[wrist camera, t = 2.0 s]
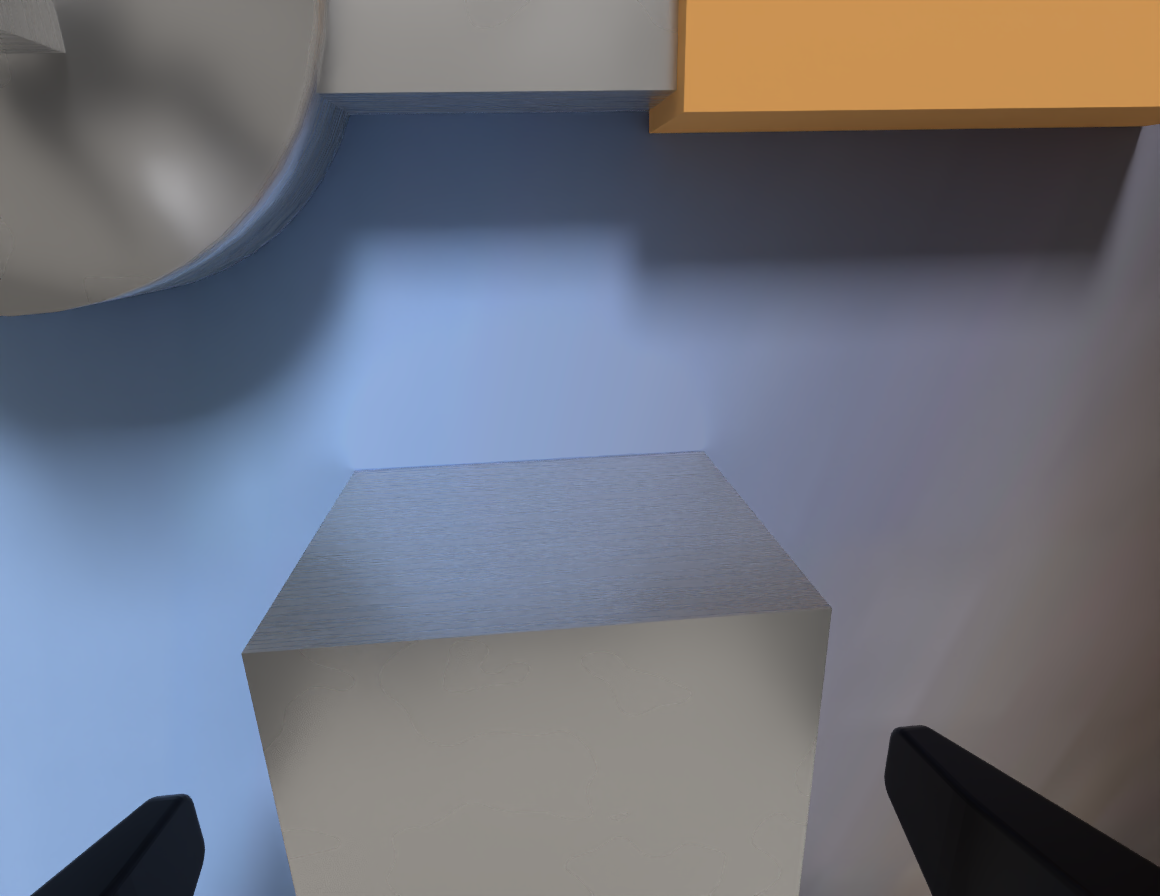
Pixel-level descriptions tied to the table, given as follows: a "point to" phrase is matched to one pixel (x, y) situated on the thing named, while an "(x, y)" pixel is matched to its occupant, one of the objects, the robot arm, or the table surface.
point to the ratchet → (471, 99)
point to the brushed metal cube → (542, 686)
